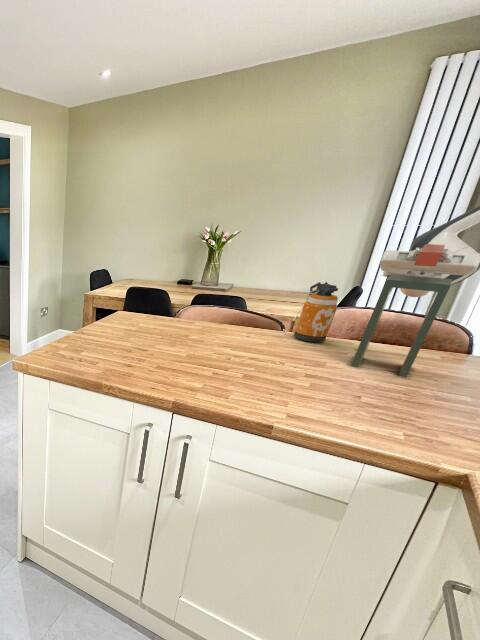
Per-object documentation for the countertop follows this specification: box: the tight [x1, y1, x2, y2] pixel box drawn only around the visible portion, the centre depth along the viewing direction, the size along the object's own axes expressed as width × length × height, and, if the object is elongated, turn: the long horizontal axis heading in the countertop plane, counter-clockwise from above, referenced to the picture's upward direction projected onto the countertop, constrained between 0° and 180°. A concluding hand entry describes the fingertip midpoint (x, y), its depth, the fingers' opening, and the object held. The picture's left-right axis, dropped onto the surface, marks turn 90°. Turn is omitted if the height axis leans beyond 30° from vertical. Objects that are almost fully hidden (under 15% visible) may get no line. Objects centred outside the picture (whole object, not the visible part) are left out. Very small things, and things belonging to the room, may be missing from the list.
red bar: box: [414, 244, 445, 267], centre depth 112 cm, size 4×22×4 cm, turn 131°
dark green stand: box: [350, 274, 452, 378], centre depth 115 cm, size 12×11×26 cm
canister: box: [293, 281, 339, 343], centre depth 141 cm, size 9×11×20 cm
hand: (432, 250), depth 115 cm, fingers closed on red bar, 4 cm apart
